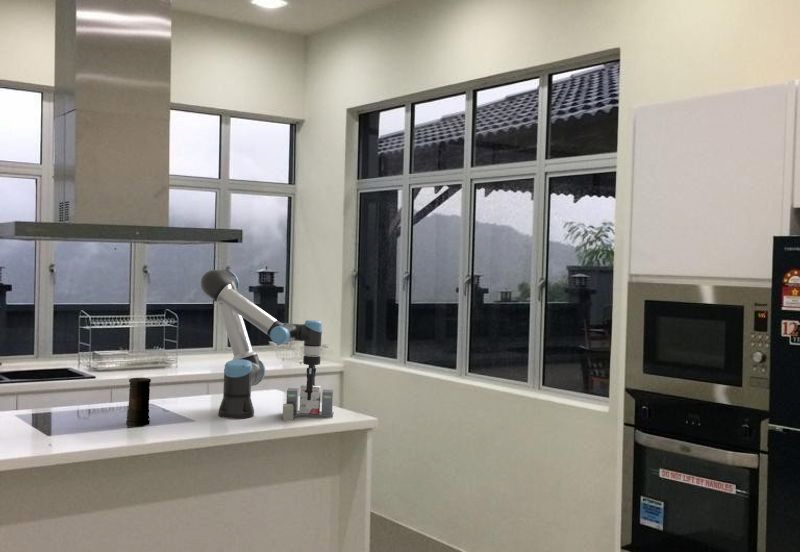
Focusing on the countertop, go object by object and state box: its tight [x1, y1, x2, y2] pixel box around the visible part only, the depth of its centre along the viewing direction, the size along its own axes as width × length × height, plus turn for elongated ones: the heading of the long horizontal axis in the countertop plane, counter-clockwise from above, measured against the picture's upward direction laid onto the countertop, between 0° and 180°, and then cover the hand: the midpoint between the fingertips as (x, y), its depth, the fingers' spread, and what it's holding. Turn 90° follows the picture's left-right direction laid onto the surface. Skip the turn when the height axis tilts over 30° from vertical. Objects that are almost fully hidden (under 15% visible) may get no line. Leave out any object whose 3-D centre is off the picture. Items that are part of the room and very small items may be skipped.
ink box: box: [299, 384, 322, 414], centre depth 351 cm, size 9×5×12 cm, turn 88°
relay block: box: [282, 403, 294, 421], centre depth 340 cm, size 4×6×6 cm, turn 12°
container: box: [125, 377, 152, 427], centre depth 317 cm, size 9×9×18 cm
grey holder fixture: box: [285, 387, 335, 418], centre depth 351 cm, size 21×8×11 cm, turn 92°
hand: (309, 404), depth 351 cm, fingers open, 11 cm apart
